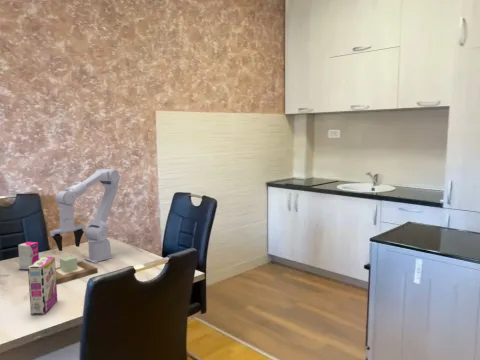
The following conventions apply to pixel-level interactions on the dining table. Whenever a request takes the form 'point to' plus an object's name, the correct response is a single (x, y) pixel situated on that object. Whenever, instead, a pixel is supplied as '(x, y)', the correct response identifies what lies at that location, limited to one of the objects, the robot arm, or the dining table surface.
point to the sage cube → (68, 263)
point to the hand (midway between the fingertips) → (69, 248)
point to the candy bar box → (42, 285)
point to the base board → (75, 272)
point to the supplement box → (28, 254)
